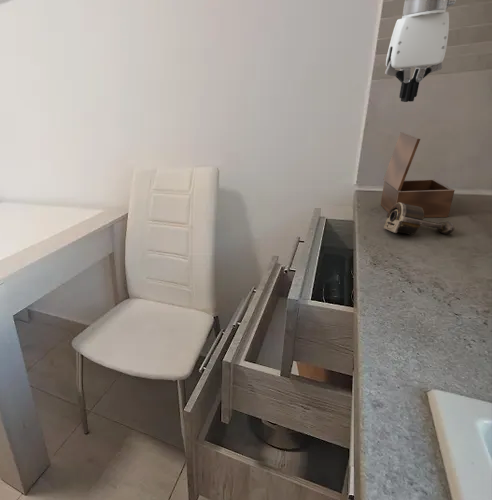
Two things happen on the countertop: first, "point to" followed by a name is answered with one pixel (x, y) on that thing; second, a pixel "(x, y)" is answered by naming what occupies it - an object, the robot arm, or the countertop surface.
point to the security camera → (412, 220)
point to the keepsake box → (420, 196)
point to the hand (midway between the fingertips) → (406, 101)
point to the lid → (401, 160)
